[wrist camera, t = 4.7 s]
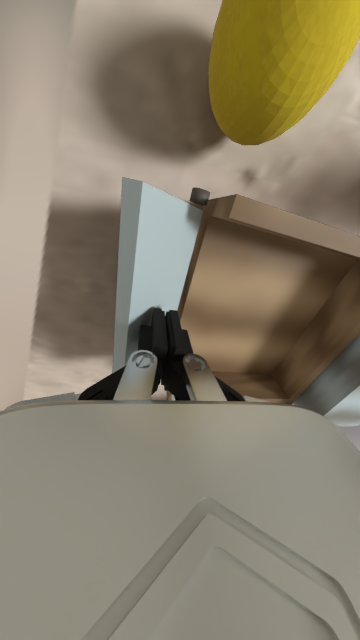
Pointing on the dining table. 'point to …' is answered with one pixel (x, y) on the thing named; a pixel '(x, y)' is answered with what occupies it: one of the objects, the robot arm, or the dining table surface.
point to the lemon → (276, 62)
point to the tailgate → (150, 260)
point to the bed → (276, 306)
